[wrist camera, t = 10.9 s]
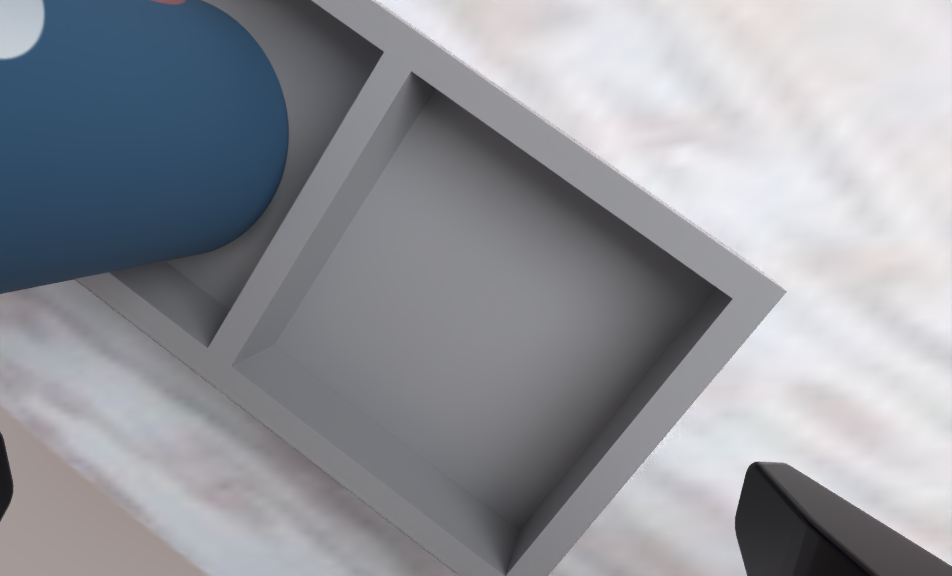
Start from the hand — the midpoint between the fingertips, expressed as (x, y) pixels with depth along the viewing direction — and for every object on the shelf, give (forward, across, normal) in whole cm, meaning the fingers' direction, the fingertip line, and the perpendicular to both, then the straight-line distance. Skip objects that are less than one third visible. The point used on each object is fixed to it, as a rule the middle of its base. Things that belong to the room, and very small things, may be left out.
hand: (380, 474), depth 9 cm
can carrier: (+13, +2, +1) cm, 13 cm away
